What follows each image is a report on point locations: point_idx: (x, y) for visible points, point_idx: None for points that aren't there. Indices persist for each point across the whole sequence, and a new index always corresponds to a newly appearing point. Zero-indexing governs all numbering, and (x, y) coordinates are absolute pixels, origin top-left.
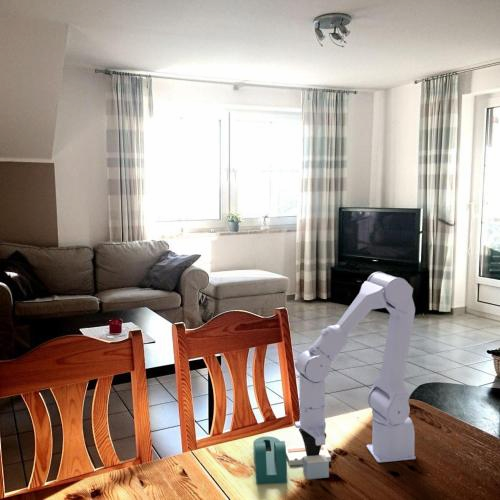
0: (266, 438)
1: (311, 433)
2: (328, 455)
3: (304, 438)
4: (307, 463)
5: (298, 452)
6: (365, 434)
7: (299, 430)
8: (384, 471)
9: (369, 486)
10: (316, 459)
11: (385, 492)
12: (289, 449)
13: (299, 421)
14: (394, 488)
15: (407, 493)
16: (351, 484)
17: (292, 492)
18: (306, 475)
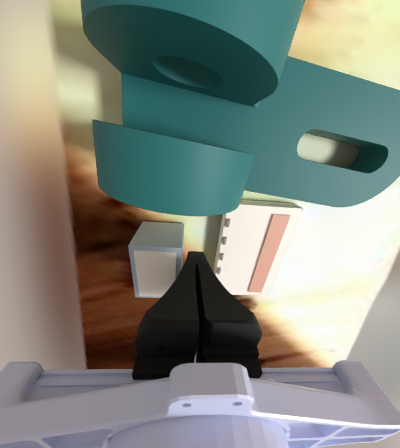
0: (391, 164)
1: (32, 425)
2: None
3: (141, 323)
4: (133, 248)
5: (260, 238)
6: (275, 346)
7: (234, 324)
8: None
9: (110, 312)
10: (151, 276)
11: (91, 324)
12: (285, 220)
13: (244, 414)
14: (103, 335)
15: (89, 343)
16: (118, 292)
17: (81, 164)
18: (146, 225)
